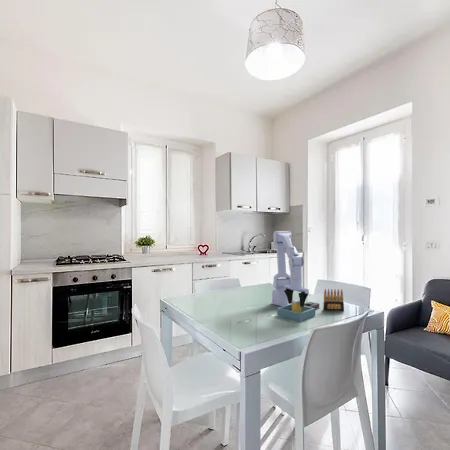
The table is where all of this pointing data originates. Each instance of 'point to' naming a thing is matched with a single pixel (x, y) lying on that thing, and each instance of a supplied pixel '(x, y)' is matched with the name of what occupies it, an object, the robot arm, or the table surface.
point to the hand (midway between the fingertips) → (296, 304)
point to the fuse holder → (312, 305)
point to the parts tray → (288, 313)
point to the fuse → (296, 306)
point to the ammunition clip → (333, 301)
